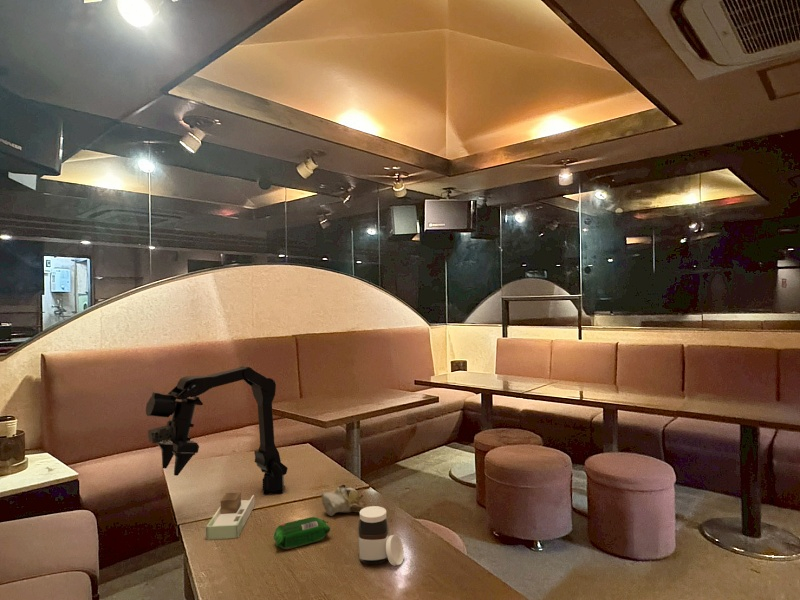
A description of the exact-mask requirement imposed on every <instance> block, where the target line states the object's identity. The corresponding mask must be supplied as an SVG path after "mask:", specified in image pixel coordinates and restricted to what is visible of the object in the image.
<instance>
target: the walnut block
mask: <svg viewBox="0 0 800 600" xmlns="http://www.w3.org/2000/svg"><path fill="white" fill-rule="evenodd" d="M241 500H242V492H241V491H240V492H225V494H224V496H222V498H221V500H220V506H221V514H231V513H237V511H238V509H239V508H240V506H241Z"/></svg>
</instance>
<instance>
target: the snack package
mask: <svg viewBox="0 0 800 600" xmlns="http://www.w3.org/2000/svg"><path fill="white" fill-rule="evenodd" d="M327 523H329V521H326V520H325V519H321V518H319V517H315V516H311V517H306V518H301V519H298V520H293V521H290V522H285V523H282V524H280V525H279V526H277V527H276V529H275V531H274V533H273V540H274V541H275V546H276V547H279V548H282V549H283V550H291V549H294V548H297V547H301V546H305V545H309V544H312V543H316V542H319V541H322V540H323V539H324V538H325V537H326V536H327V535H328V533H329V532H330V531H331V527H330V526H329V525H327Z"/></svg>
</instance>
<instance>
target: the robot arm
mask: <svg viewBox="0 0 800 600" xmlns="http://www.w3.org/2000/svg"><path fill="white" fill-rule="evenodd" d="M241 381H244V382H245V383H246V384H247V385H249V386H250V387H251V391H252V395H253V397H254V400H255V401H256V405H257V414H258V418H257V419H258V429H259V432H258V434H259V448H258V450H254V452H253V453H254V461H253V462H254V463H256V466H257V467H258V468H259V469H260V470H261V471H260V472H262V473H264V474H263V478H262V481H261V482H262V491H263V496H264V495H282V494H283V493H284V492H285V491H284V490H285V488H286V485H285V475H287V473H288V466H286V465H285V464H283V462H282V460H281V455H280V452H279V450H278V447H277V446H276V443H275V429H274V413H273V401H274V399H275V396H276V391H277V390H276V388H277V384H276V381H275V380H274V379H273V378H270V377H266V376H265V375H262V374H261V373H259V372H257V371H255V370H254V369H253V368H251V367H250V366H245V365H244V366H243V365H242V366H239V367H236V368H232V369H229V370H224V371H220V372H217V373H211V374H208V375H189V376H183V377H181V378H180V379H179V380H178V381H177V384H176V385H175V387H174V388H173V389H171V390H170V391H169V392H168V393H167V394H165V393H159V392H152V394H151V396H150V397H149V399H148V401H147V402H146V407H145V414H146V415H145V416H146V417H157V418H169V417H170V416H172V417H171V419H169V420H168V421H167V424H166V425H163V426H159V427H158V426H157V427H155V428H151V429H148V430H147V436H148V441H149V442H151V443H152V444H156V445H157V446H158V447H159V448H160V450H161V463H162V464H161V465H162V466H161V467H162V469H167V468H168V466H169V465H170V463H171V461H172V459H173V457H175V459H174V467H173V468H174V469H173V476H179V475H180V474H181V472H182V470H183V469H184V468H185V467H186V466H187V464H188V463H189V462H190V460H191V459H192V457H194V456H195V455H196V454H197V453H199V450H200V449H199V448H200V445H199V444H198V442H196V441H194V440H191V437H190V436H189V435H190V432H191V428H194V425H195V424H194V423H193V418H194V414H195V409H196V406H203V405H204V403H203V402H202V401H201V399H200V397H199V396H200V395H202V394H204V393H206V392H208V391H209V390H211V389H213V388H217V387H221V386H225V385H227V384H233V383H235V382H241Z"/></svg>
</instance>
